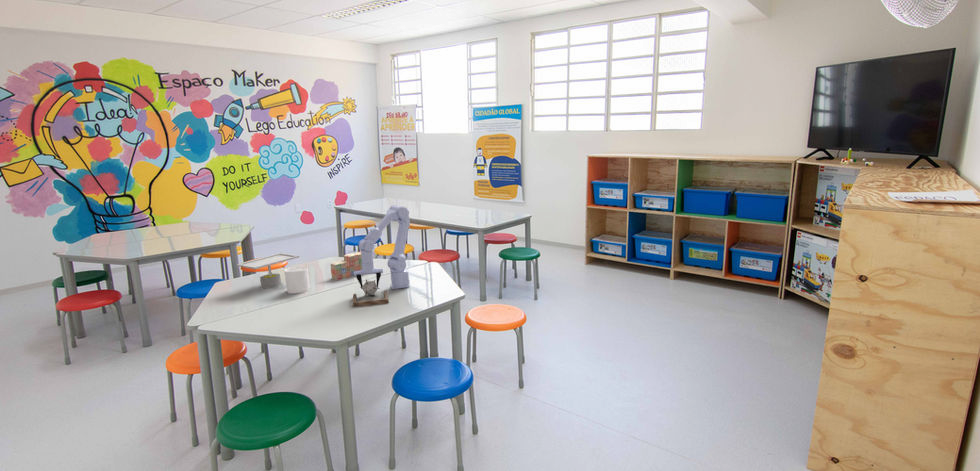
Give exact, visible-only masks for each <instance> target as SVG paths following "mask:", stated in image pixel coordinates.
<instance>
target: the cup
mask: <svg viewBox="0 0 980 471" xmlns="http://www.w3.org/2000/svg"><path fill="white" fill-rule="evenodd" d="M283 272H284V278H285V279H284V280H285V288H286V292H287V293H288V294H294V295H295V294H302V293H305V292H308V291H309V290H310V289H311V287H310V277H309V270H308V267H307V266H305V265H300V266H299V265H298V266H292V267H286V268H285V269H284V271H283Z"/></svg>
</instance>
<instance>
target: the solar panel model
mask: <svg viewBox="0 0 980 471" xmlns="http://www.w3.org/2000/svg"><path fill="white" fill-rule="evenodd" d="M298 258H300V256H299V255H296V254H291V253H290V254H289V253H283V252H278V253H274V254H270V255H267V256H264V257H260V258H256V259H251V260H248V261H244V262H241V263H236V267H240V268H245V269H252V270H258V269H263V268H266V267H267V270H268V274H265V275H262V276H260V277H259V279H260V286H261V287H260V288H262V289H272V288H276V287H279V286H281V285H282V281H281V274H280V273H272V268H271V267H272V266H273V265H276V264H279V263H283V262H287V261H291V260H295V259H298Z"/></svg>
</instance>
